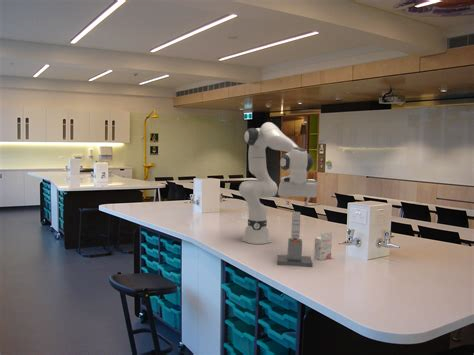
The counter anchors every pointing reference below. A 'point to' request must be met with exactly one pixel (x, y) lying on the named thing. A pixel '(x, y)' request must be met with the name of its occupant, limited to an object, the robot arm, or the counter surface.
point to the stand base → (294, 255)
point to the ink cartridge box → (323, 246)
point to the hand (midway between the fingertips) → (296, 205)
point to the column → (295, 226)
